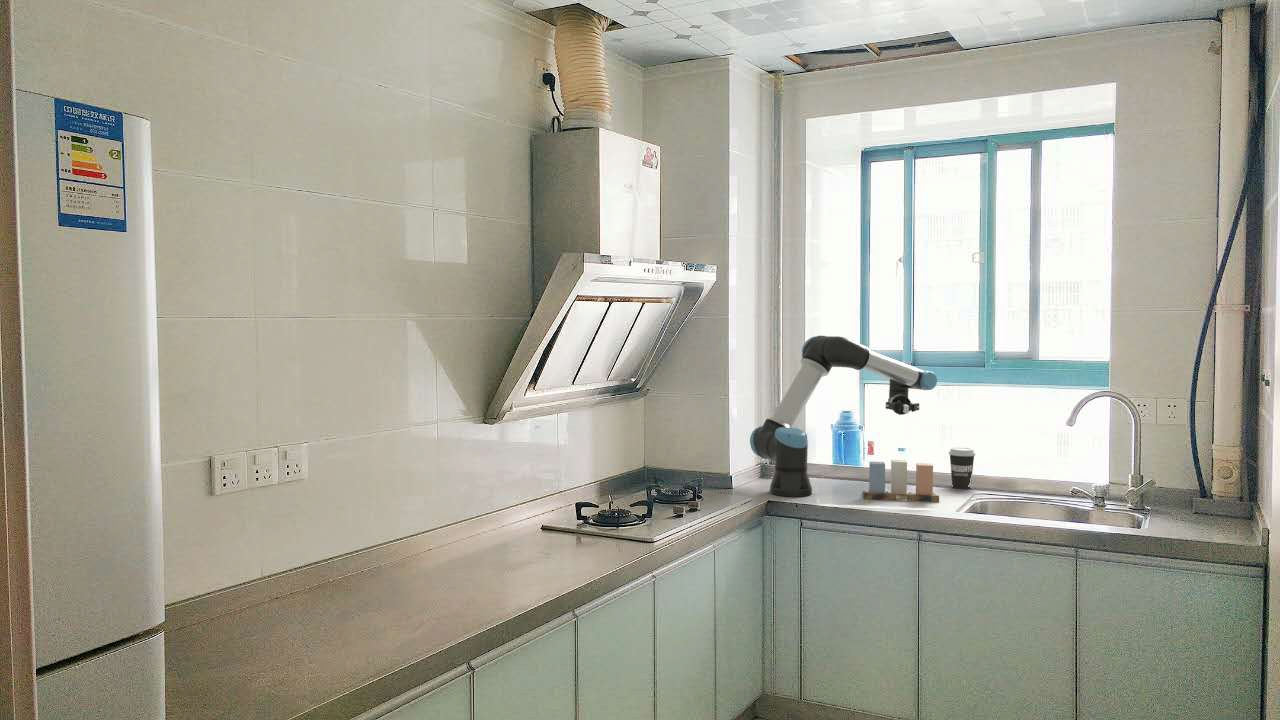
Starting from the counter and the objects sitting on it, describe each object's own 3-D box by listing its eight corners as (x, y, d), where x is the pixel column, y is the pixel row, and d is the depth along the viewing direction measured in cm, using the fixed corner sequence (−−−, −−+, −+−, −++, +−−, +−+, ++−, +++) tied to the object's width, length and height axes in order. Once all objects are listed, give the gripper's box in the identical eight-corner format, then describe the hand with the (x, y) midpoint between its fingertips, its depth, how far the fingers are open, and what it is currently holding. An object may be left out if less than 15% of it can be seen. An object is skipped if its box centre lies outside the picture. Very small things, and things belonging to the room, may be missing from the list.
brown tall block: (917, 499, 313) (918, 465, 312) (915, 496, 318) (916, 463, 317) (932, 500, 312) (933, 465, 311) (930, 497, 317) (931, 463, 316)
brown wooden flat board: (864, 501, 315) (864, 493, 314) (861, 493, 330) (861, 485, 329) (939, 504, 310) (939, 495, 310) (933, 496, 325) (933, 487, 325)
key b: (892, 495, 320) (892, 461, 320) (890, 492, 325) (891, 459, 325) (906, 495, 319) (907, 462, 319) (905, 493, 324) (905, 460, 324)
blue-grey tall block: (869, 497, 316) (870, 463, 315) (869, 495, 321) (869, 461, 320) (884, 498, 315) (885, 464, 314) (883, 495, 320) (884, 462, 319)
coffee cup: (942, 487, 342) (943, 447, 342) (961, 485, 346) (962, 446, 346) (961, 491, 334) (961, 451, 333) (980, 489, 338) (981, 449, 337)
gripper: (917, 414, 356) (924, 420, 333) (883, 413, 359) (888, 418, 336) (918, 395, 356) (925, 400, 333) (883, 394, 359) (888, 398, 336)
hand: (906, 409), depth 334 cm, fingers closed
